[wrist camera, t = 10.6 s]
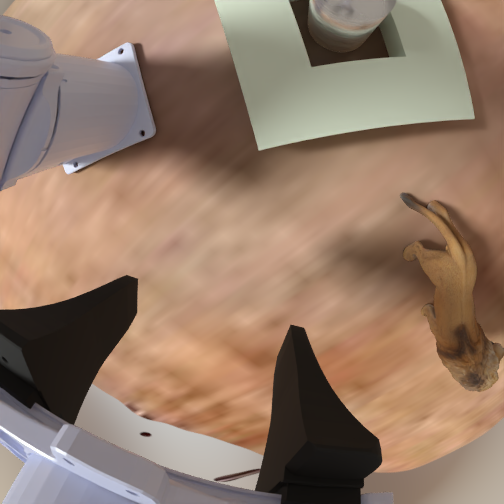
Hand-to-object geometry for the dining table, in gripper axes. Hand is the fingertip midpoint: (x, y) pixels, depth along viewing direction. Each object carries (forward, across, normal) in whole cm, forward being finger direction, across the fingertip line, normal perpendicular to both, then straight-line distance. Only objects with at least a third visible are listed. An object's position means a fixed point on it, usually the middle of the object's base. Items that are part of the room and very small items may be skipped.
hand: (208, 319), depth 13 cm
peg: (+10, -2, -16) cm, 19 cm away
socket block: (+10, -3, -16) cm, 19 cm away
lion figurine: (+10, -16, -2) cm, 19 cm away
